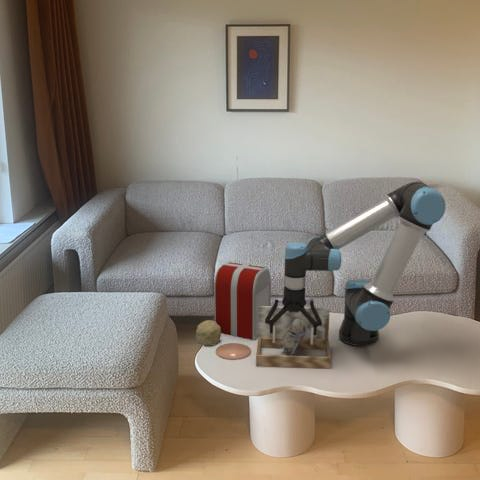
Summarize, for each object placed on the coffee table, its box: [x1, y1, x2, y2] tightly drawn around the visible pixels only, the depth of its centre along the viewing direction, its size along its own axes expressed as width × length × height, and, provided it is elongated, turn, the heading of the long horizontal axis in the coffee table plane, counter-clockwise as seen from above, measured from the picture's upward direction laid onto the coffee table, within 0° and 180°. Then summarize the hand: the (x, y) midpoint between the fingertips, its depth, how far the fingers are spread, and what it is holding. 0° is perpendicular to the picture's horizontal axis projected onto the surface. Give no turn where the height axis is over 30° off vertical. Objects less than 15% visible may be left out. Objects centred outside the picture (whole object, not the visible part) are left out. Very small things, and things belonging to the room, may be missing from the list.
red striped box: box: [213, 261, 272, 341], centre depth 259 cm, size 16×18×27 cm
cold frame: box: [255, 305, 332, 370], centre depth 237 cm, size 26×17×16 cm, turn 86°
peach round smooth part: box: [215, 342, 252, 361], centre depth 243 cm, size 13×13×1 cm
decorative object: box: [195, 319, 222, 346], centre depth 251 cm, size 9×10×10 cm
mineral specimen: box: [278, 319, 307, 356], centre depth 240 cm, size 15×8×4 cm
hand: (292, 342), depth 237 cm, fingers open, 13 cm apart
